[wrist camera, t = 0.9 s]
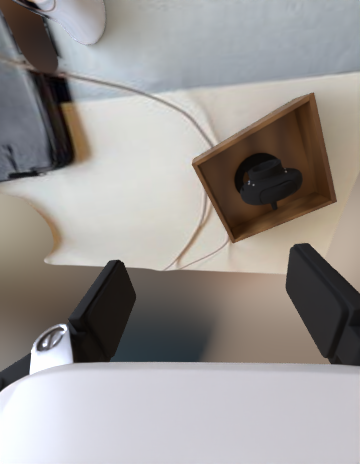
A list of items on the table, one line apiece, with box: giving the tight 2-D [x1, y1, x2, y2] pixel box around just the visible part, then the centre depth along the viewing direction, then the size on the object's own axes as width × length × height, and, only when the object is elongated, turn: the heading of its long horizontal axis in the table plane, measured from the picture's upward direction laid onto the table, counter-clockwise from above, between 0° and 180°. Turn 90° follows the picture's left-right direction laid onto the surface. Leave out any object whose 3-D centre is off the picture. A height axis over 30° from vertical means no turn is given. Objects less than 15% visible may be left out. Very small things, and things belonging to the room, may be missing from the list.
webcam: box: [234, 153, 303, 210], centre depth 26 cm, size 8×8×10 cm
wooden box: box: [192, 92, 337, 243], centre depth 29 cm, size 16×15×5 cm
